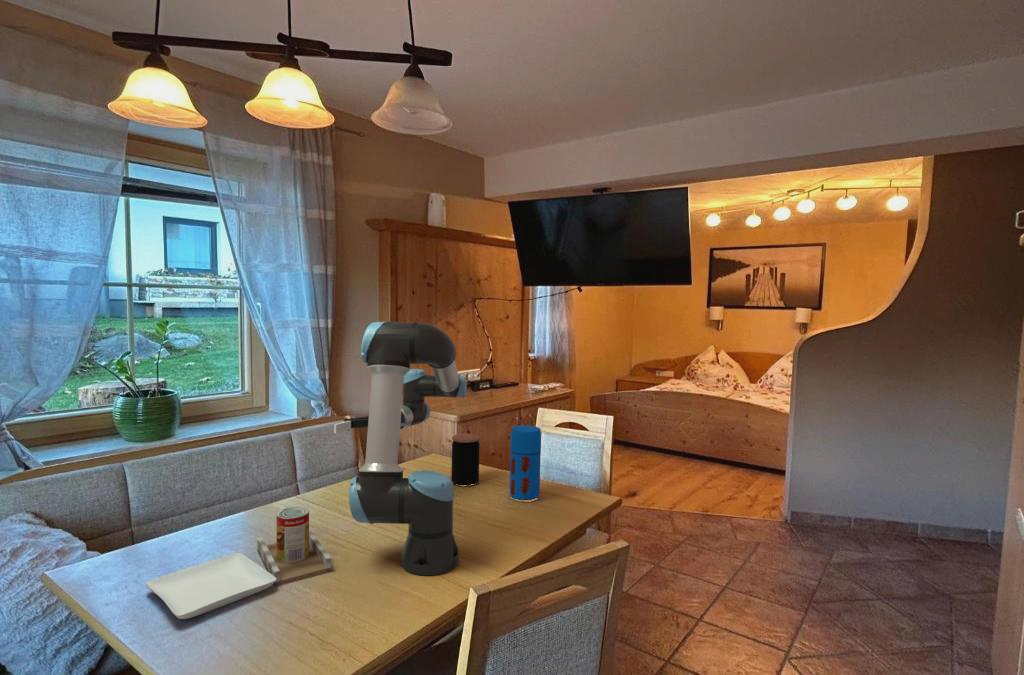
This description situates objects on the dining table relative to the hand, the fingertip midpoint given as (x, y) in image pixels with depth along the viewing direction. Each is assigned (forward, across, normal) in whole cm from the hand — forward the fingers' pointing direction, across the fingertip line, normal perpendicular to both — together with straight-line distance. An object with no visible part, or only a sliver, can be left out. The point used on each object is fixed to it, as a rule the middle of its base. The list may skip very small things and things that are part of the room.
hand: (352, 431), depth 156 cm
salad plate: (+41, +5, -31) cm, 52 cm away
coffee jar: (-54, -8, -30) cm, 62 cm away
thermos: (-50, -35, -30) cm, 68 cm away
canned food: (+22, +1, -29) cm, 36 cm away
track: (+22, +1, -30) cm, 37 cm away
